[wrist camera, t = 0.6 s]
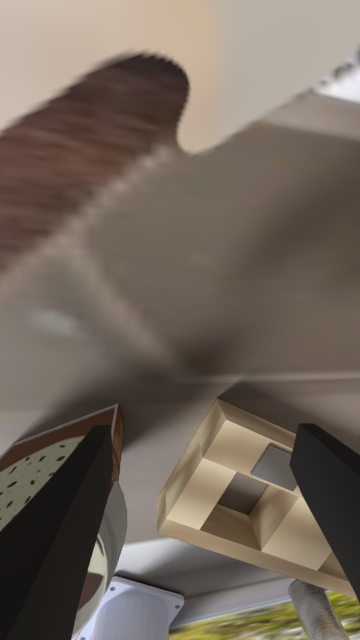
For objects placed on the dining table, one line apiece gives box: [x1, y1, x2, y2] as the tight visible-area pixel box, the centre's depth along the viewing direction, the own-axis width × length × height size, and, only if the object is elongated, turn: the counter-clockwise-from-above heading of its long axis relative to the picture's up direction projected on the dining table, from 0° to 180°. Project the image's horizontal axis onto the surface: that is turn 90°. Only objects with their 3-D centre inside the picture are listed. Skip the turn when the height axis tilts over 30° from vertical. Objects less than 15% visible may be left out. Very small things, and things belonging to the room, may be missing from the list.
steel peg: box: [289, 579, 350, 640], centre depth 22 cm, size 4×4×7 cm
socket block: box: [157, 398, 358, 599], centre depth 21 cm, size 11×24×3 cm, turn 62°
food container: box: [0, 404, 127, 639], centre depth 15 cm, size 12×6×10 cm, turn 111°
